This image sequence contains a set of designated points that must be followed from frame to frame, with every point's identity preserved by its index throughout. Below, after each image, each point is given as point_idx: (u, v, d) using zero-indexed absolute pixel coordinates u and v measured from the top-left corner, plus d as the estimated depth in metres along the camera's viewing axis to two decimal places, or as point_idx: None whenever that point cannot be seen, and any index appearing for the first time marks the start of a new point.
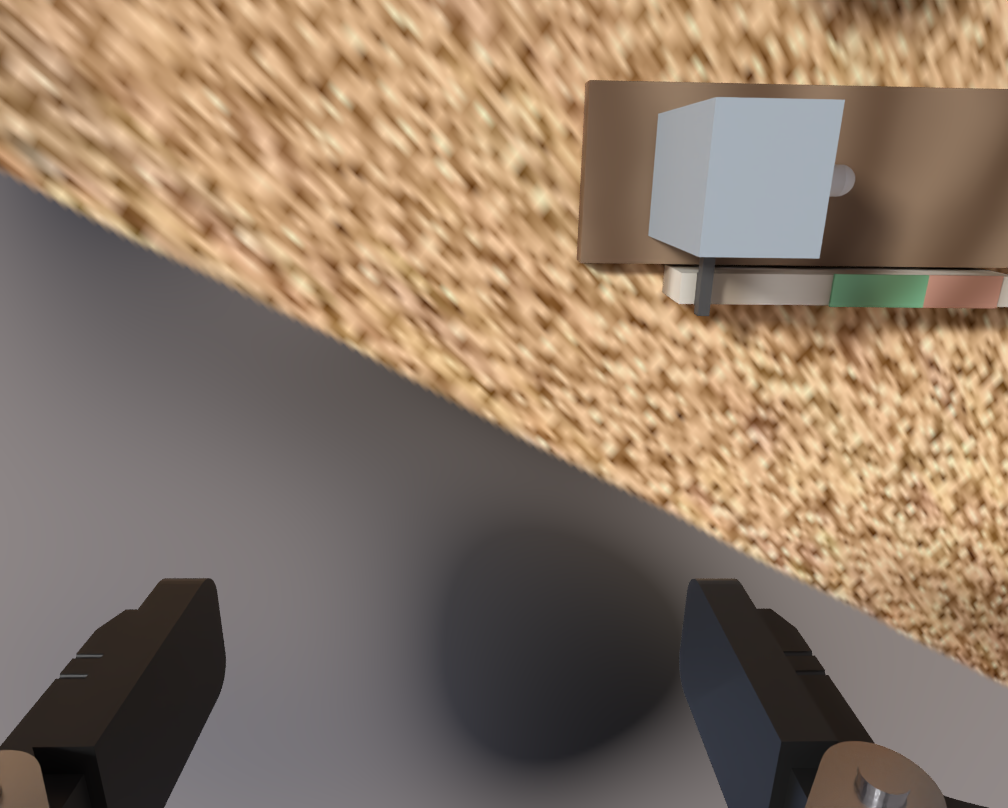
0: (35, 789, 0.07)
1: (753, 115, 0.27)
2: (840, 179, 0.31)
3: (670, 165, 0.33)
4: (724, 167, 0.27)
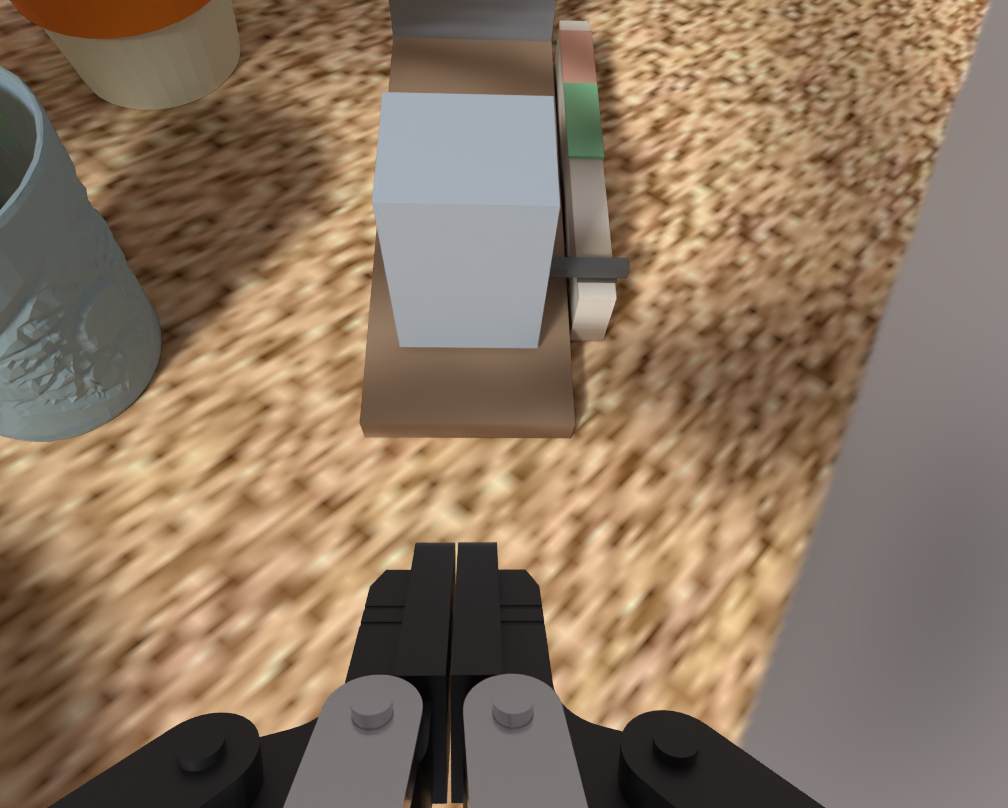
0: (410, 730, 0.08)
1: (394, 166, 0.23)
2: None
3: (455, 306, 0.27)
4: (451, 188, 0.22)
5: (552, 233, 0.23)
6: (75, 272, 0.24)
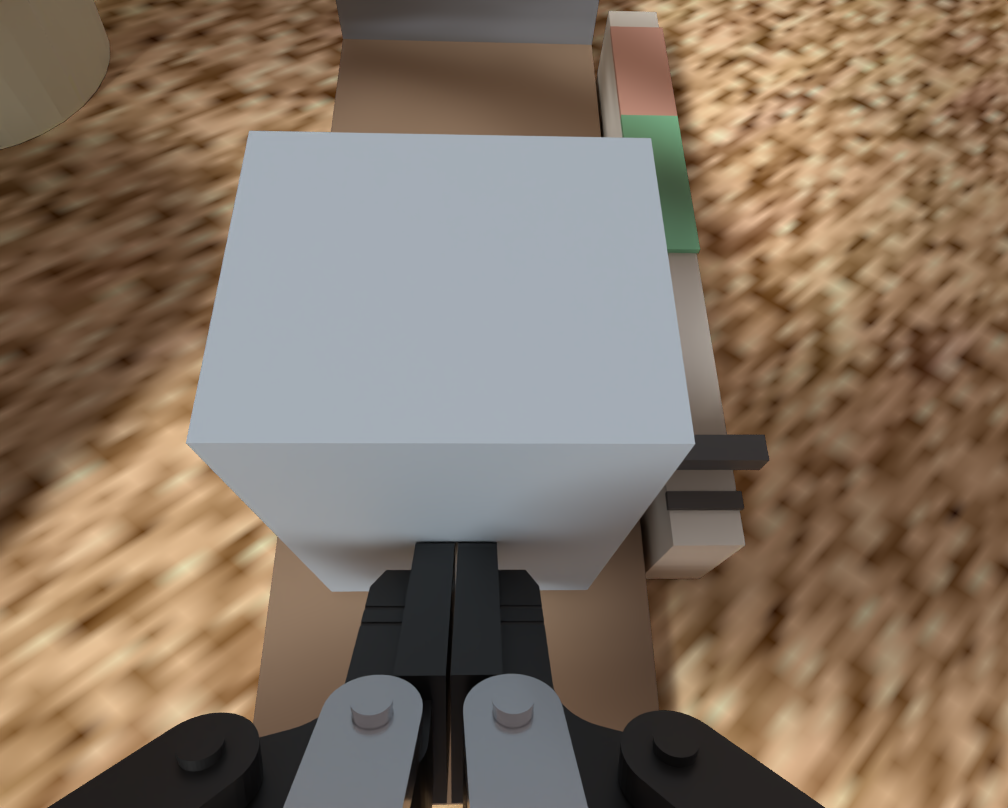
0: (410, 731, 0.08)
1: (257, 330, 0.09)
2: None
3: None
4: (405, 394, 0.08)
5: (659, 481, 0.10)
6: None
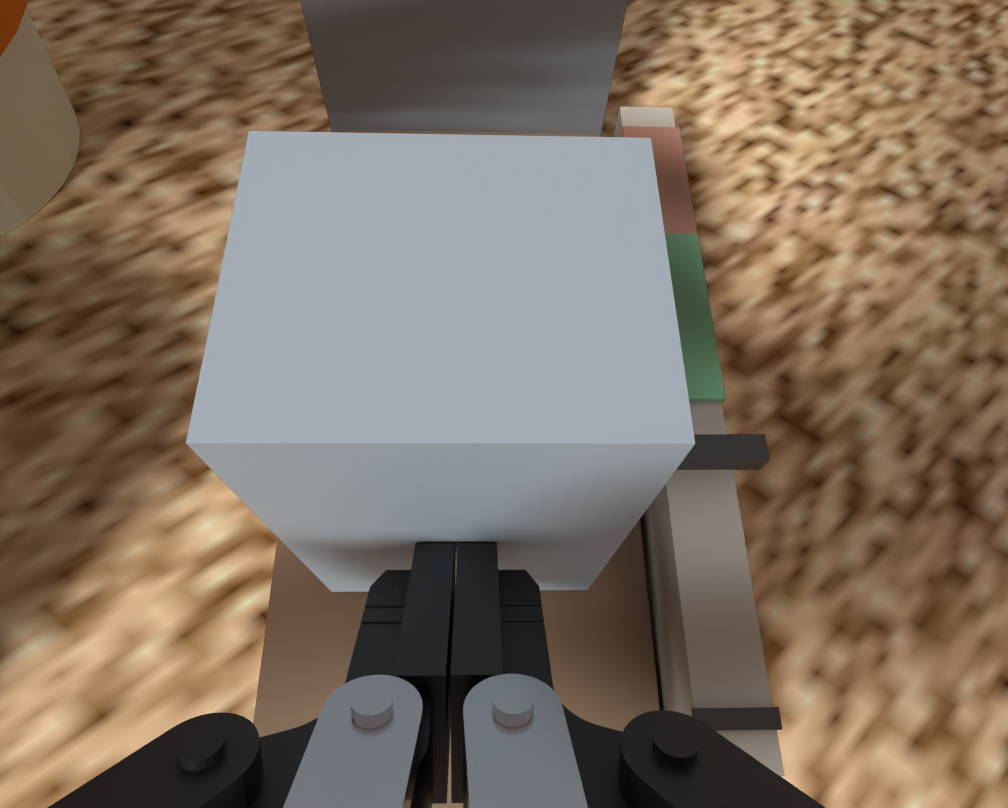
0: (411, 730, 0.08)
1: (257, 329, 0.09)
2: None
3: None
4: (406, 394, 0.08)
5: (659, 480, 0.10)
6: None
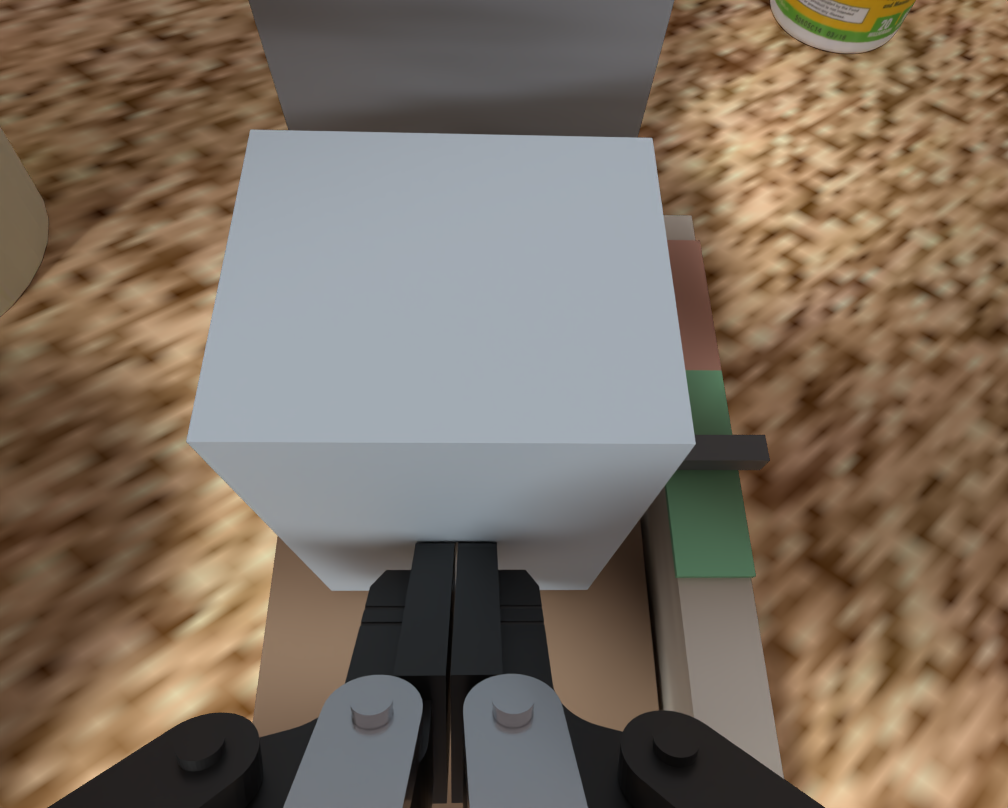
0: (411, 730, 0.08)
1: (258, 328, 0.09)
2: None
3: None
4: (406, 394, 0.08)
5: (659, 481, 0.10)
6: None
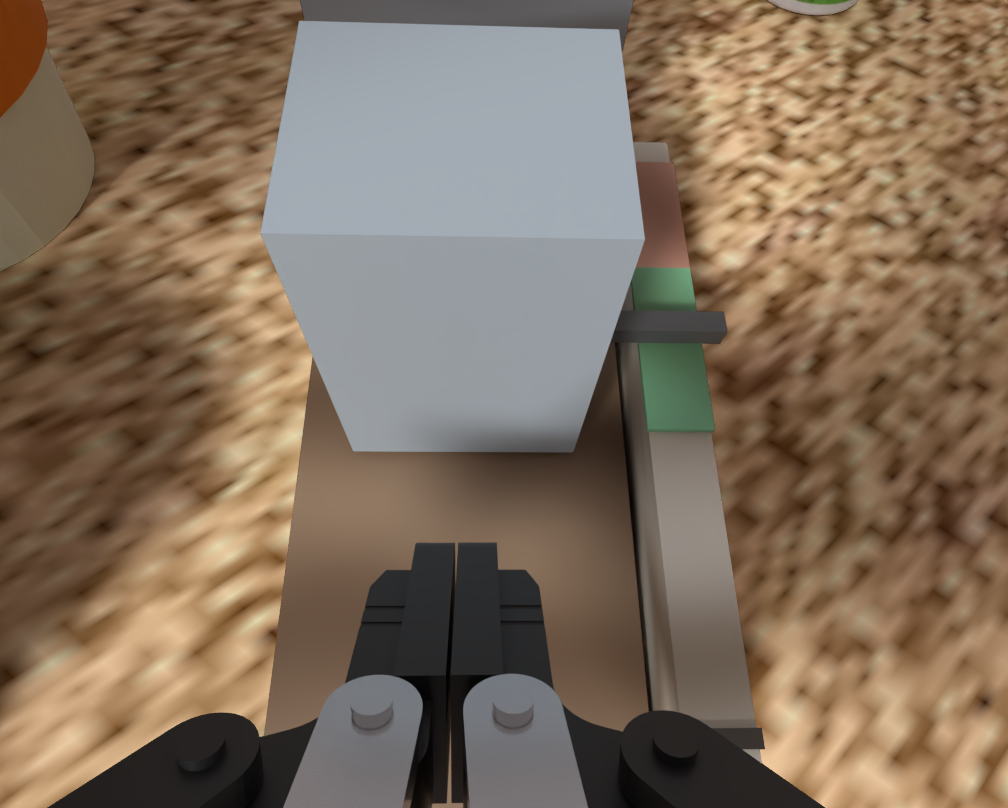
0: (411, 730, 0.08)
1: (311, 159, 0.11)
2: None
3: (439, 400, 0.16)
4: (425, 203, 0.11)
5: (621, 289, 0.12)
6: None
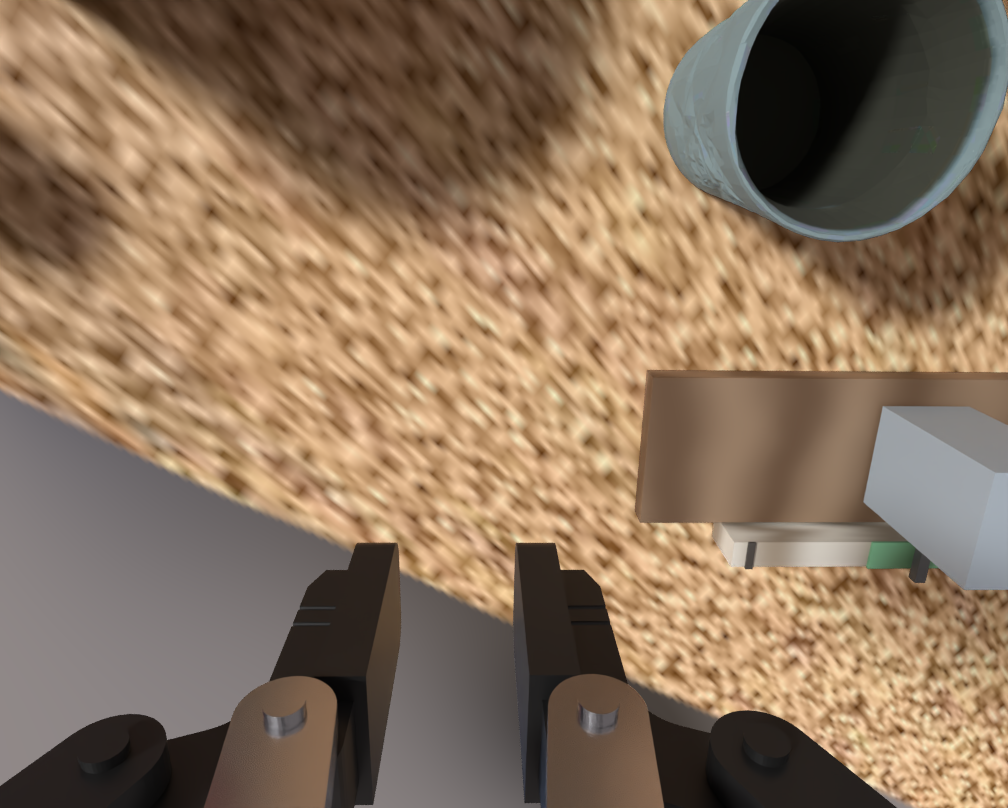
0: (327, 726, 0.08)
1: None
2: None
3: (906, 469, 0.37)
4: (995, 523, 0.31)
5: (946, 571, 0.34)
6: None
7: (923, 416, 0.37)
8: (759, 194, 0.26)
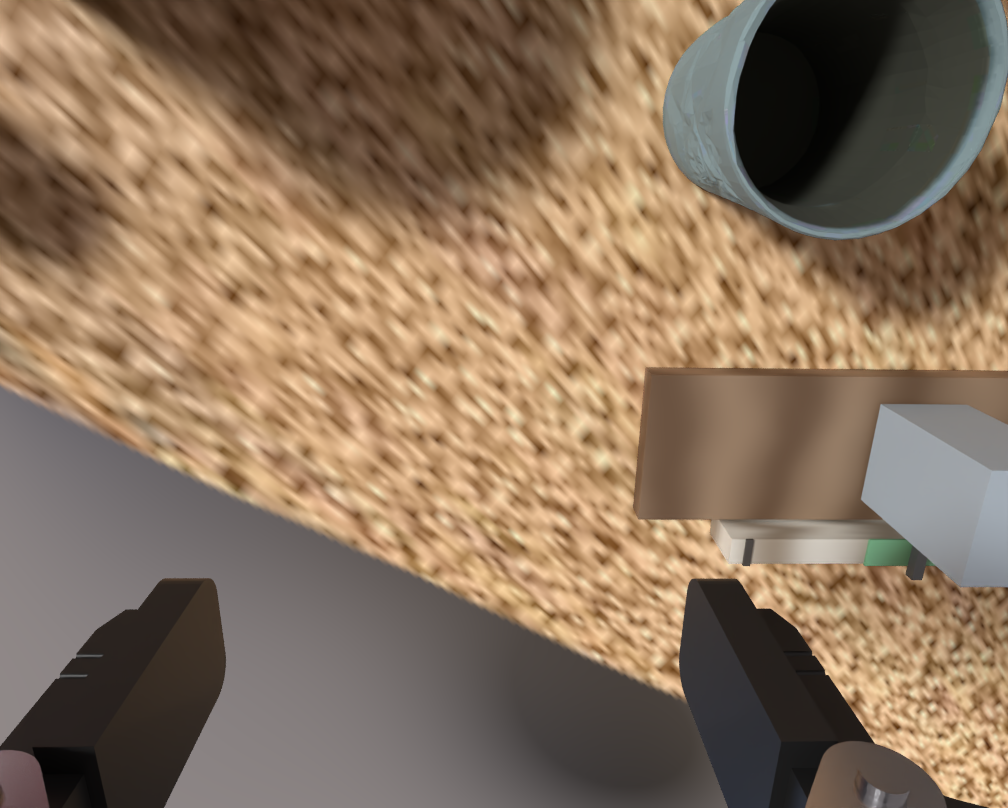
0: (35, 789, 0.07)
1: None
2: None
3: (904, 467, 0.37)
4: (991, 521, 0.31)
5: (942, 569, 0.34)
6: None
7: (920, 414, 0.38)
8: (757, 192, 0.26)
